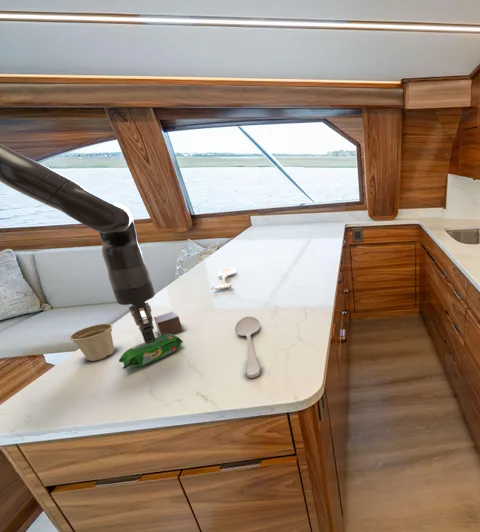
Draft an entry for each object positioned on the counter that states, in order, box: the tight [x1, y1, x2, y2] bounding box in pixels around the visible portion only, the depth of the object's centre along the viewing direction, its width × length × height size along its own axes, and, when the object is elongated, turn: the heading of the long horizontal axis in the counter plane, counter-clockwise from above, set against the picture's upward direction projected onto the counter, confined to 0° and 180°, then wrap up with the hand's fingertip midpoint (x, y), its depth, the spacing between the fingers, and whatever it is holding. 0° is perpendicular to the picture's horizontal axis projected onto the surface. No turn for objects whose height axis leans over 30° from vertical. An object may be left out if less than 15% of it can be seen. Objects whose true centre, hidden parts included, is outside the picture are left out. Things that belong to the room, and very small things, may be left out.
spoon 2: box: [210, 267, 237, 291], centre depth 150 cm, size 9×32×4 cm, turn 25°
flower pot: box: [68, 323, 115, 362], centre depth 91 cm, size 9×9×9 cm
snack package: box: [118, 334, 184, 369], centre depth 90 cm, size 7×16×5 cm, turn 150°
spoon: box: [234, 316, 261, 379], centre depth 95 cm, size 35×8×3 cm, turn 29°
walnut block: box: [153, 311, 183, 336], centre depth 104 cm, size 6×6×6 cm
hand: (150, 341), depth 81 cm, fingers closed
